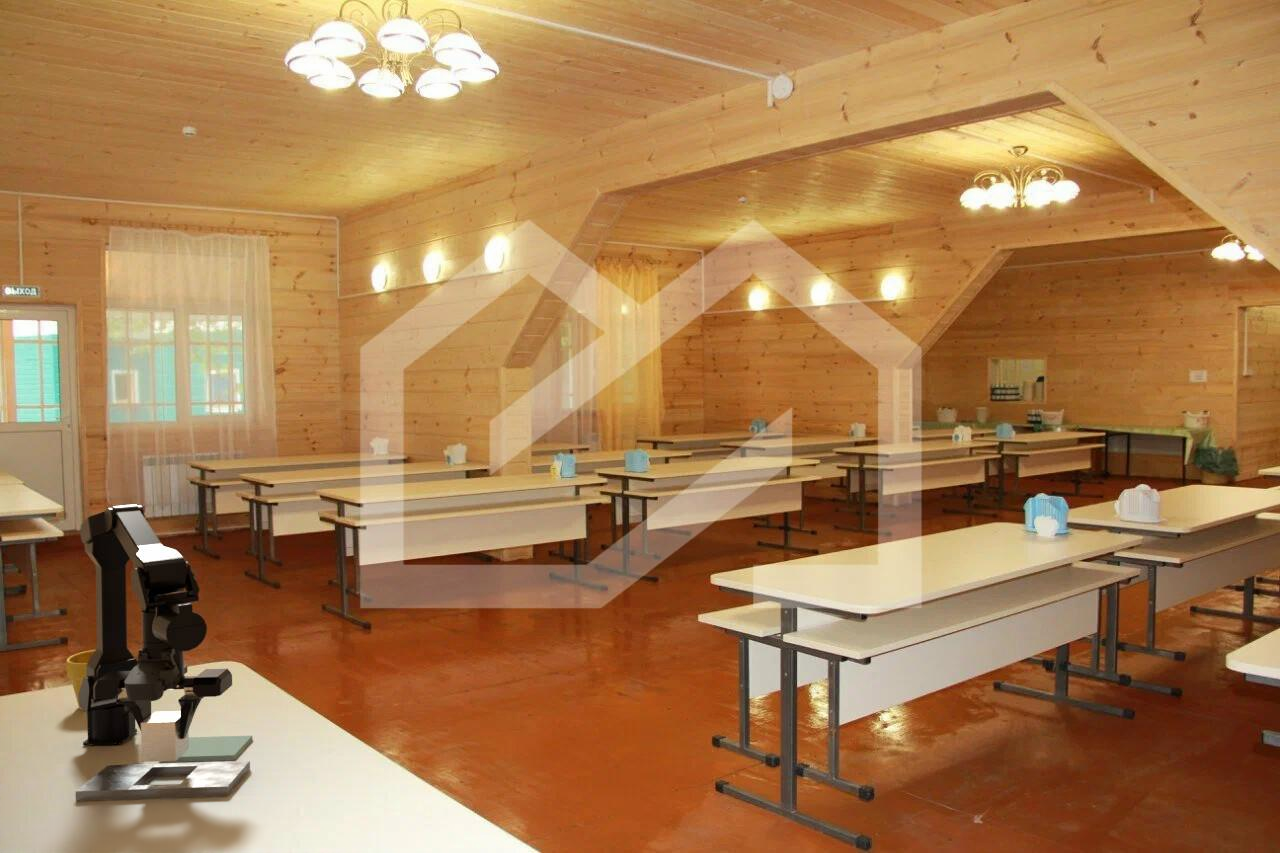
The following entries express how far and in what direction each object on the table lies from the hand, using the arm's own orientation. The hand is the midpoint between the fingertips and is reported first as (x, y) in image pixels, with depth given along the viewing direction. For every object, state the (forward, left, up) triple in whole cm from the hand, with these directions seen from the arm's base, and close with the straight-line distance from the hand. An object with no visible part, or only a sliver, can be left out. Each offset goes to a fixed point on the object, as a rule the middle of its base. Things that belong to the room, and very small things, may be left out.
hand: (165, 738), depth 148 cm
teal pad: (+1, +14, -7) cm, 16 cm away
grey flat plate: (0, 0, -7) cm, 7 cm away
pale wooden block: (0, 0, -3) cm, 3 cm away
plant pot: (-29, +40, -8) cm, 50 cm away
